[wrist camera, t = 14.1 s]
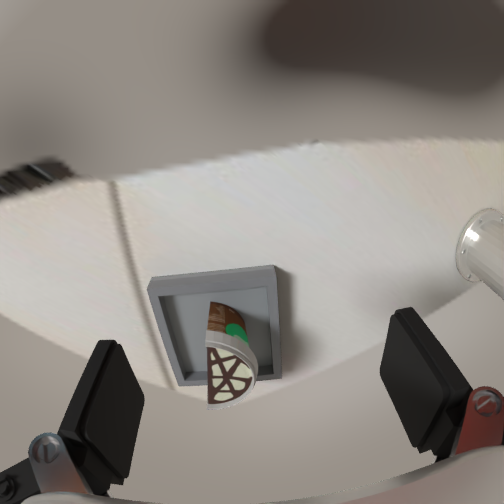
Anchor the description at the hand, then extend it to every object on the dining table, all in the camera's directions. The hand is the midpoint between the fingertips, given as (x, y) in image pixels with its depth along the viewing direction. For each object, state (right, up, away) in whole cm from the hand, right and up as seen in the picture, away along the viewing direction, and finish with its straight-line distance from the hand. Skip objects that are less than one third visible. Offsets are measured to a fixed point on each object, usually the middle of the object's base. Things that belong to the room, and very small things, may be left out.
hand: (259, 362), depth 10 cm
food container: (-3, -7, +33) cm, 34 cm away
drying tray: (-5, -7, +34) cm, 35 cm away
